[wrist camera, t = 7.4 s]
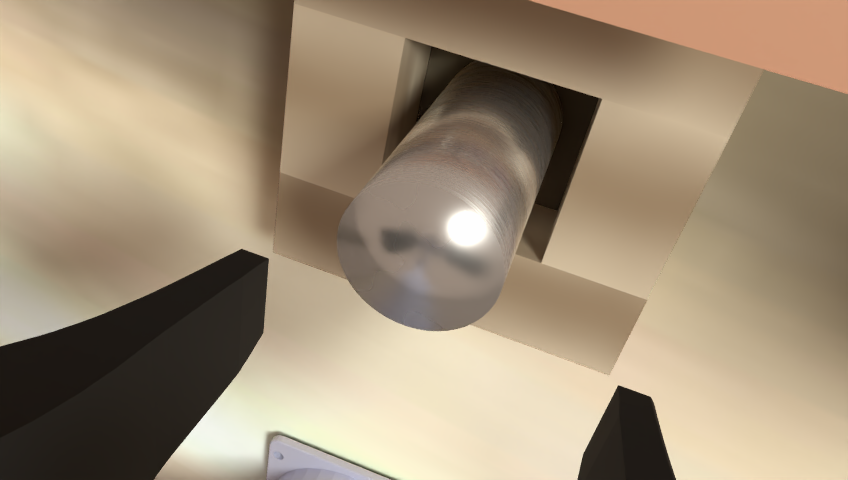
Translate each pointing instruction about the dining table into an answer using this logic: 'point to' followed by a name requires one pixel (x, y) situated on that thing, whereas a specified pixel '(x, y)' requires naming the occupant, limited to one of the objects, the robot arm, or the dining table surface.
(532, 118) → the peg
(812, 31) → the peach and white stand
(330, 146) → the socket block
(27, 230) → the dining table surface
